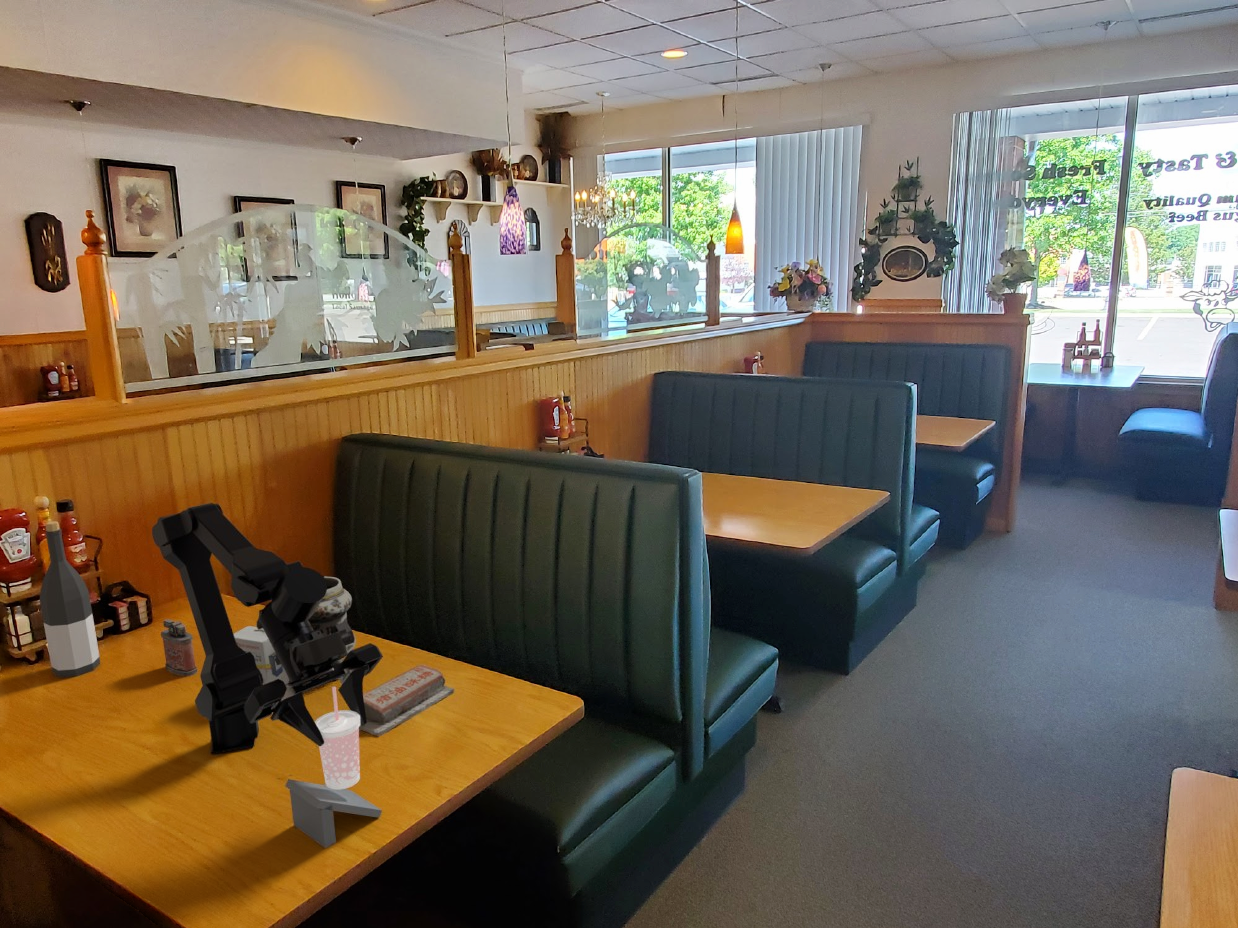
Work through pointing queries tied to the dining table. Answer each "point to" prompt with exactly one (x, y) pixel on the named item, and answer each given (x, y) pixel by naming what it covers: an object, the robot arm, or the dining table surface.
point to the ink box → (261, 653)
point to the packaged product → (403, 698)
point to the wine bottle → (67, 613)
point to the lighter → (178, 649)
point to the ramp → (324, 808)
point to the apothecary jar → (332, 612)
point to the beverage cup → (340, 746)
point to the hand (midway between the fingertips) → (343, 734)
